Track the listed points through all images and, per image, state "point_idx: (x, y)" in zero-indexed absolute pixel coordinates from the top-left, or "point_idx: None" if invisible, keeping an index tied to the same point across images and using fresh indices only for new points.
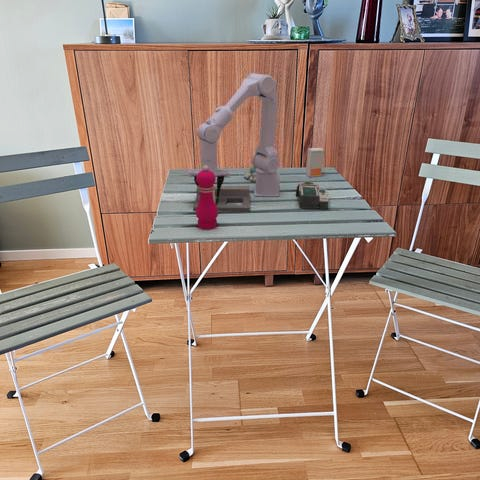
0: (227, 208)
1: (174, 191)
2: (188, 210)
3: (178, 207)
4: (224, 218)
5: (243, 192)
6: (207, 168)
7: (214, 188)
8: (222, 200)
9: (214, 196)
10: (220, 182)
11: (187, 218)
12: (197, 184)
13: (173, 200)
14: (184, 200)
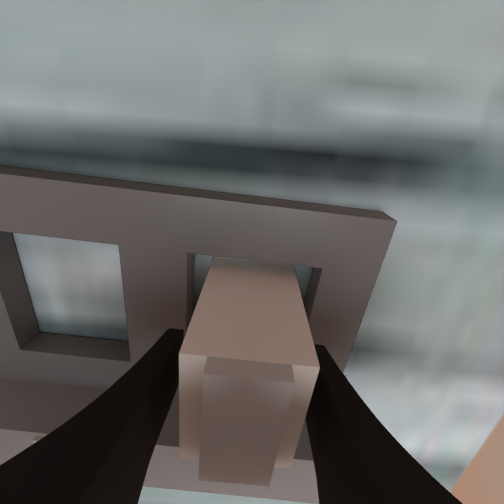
0: (100, 183)
1: None
2: (415, 226)
3: (472, 285)
4: (120, 4)
5: (6, 404)
6: None
7: (185, 417)
8: (156, 329)
9: (197, 310)
10: (12, 488)
11: (474, 37)
12: (422, 480)
13: (466, 385)
14: (400, 379)
